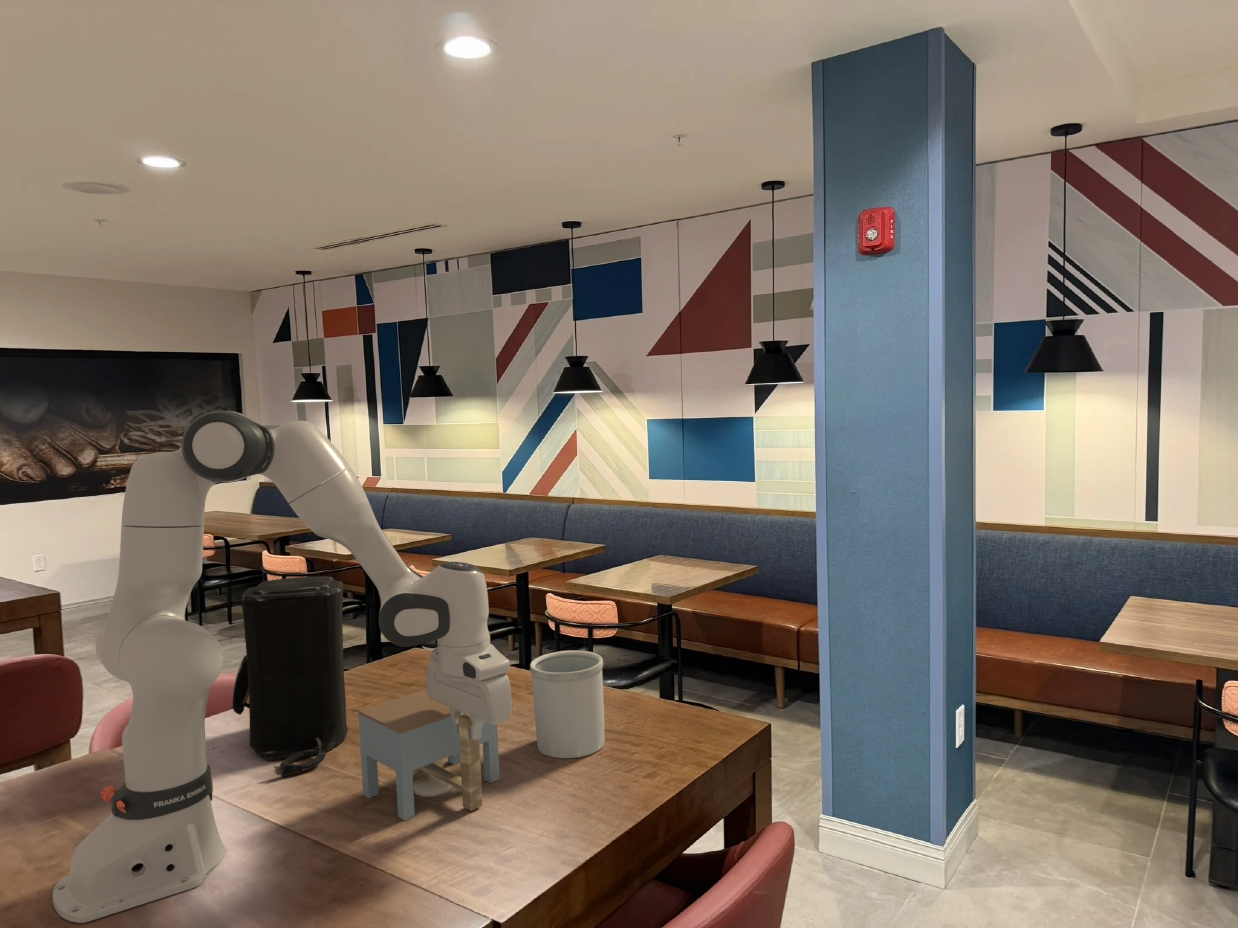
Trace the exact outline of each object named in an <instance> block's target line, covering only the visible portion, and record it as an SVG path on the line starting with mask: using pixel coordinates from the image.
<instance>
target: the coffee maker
mask: <svg viewBox="0 0 1238 928" xmlns="http://www.w3.org/2000/svg"><path fill="white" fill-rule="evenodd" d="M343 597H344V583H343V582H342V581H341V580H335V578H333V577H331V576H326V575H325V576H324V575H323V576H318V575H317V576H300V577H288V578H279V579H278V578H276V579H269V580H264V581H262V582H260V583H259V584H258V585H257V586H252V587H248V588H247V589H246V590H245V591H244V592H243V593H242V594H241V598H240V601H241V609H242V618H243V627H244V639H245V640H244V641H245V650H246V651H245V653H246V654H245V655H244V656H243V658H242V660H241V663H240V664H239V667H238V670H237V673H236V677H235V681H234V685H233V691H232V692H233V693H232V702H231V703H232V710H233V712H234V713H235V714H238V715H240V716H241V715H242V714H243V713H244V711H245V708H247V709H248V711H249V713H248V714H249V716H248V717H249V747H250V748H251V749H252V750H253V751H254V752H255V753H256V754H258V755H259V757H261V758H265V760H266V761H274V760H276V761H277V760H282V761H281V763H279V765H274V766H273V768H274V769H279V770H281V773H280V775H281V778H285V776H288V775H293V774H295V773H298V772H303V771H304V770H306V769H310V768H314V767H315V766H317V765H319V764H321V763H322V762H323V761H324V759H325V757H326V756H327V752H329V751H332V750H334V749H335V747H337V746H338V745H340V744H341V742H344V741H345V739H346V737H347V734H348V730H349V728H348V725H347V724H348V723H347V710H346V709H347V701H346V700H347V699H346V686H345V685H346V683H345V669H344V668H345V667H344V666H345V665H344V639H343V637H344V636H343V634H344V633H343V608H344V607H343V606H344V605H343V601H344V598H343ZM247 701H248V702H247ZM309 756H310V757H311V756H315V758H313V759H312V760H310V761H307V762H305V763H304V762H303V763H300V764H299V763H298V764H296V763H293V762H295V761H297V760H300V759H304V758H306V757H309Z"/></svg>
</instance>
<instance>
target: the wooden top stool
mask: <svg viewBox="0 0 1238 928" xmlns="http://www.w3.org/2000/svg"><path fill="white" fill-rule="evenodd" d="M464 714H465V713H464ZM358 723H359V724H358V725H359V729H358V730H359V744H360V760H361V761H360V762H361V777H362V781H361V782H362V796H364V797H366V798H367V799H371V798H374V797H375V796H378V795H380V792H379V791H380V790H379V789H380V788H379V770H378V763H380V764H382V765H383V766H385V767H388V768H389V769H391V770H393V771H395V781H396V782H395V783H396V784H395V785H396V802H397V803H396V805H397V817H398V818H399V819H401V820H403V821H407V820H409V819H411V818H414V817H415V816H416V815H415V797H414V794H415V793H414V791H413V773H412V771H413V770H415V769H418V768H420V767H423V766H426V765H428V764H431V763H433V762H436V761H438V760H441V759H443V760H444V759H446V758H447V763H449V764H451V765H457V764H458V763H461V762H460V743H459V733H457V732H455V723H454V721H453V718H452V716H451V714H450V707H448V706H445V705H443V704H440V703H438V702H435V701H433V700H431V699H429V697H428V695H427V691H426V689H423V690H421V691H417V692H413V693H412V694H408V695H405V696H402V697H399V698H395V699H392V700H389V701H385V702H382V703H378V704H377V705H376V704H375V705H373V706H369V707H366V708H363V709H359V710H358ZM481 730H482V736H481V738H480V739H479V746H480V745H482V756H483V778H484V779H483V780H484V781H486V782H488V783H490V784H492V783H495V782H496V781H499V780H501V779H500V757H499V739H498V738H499V737H498V736H499V735H498V724H494V725H492V724H489V723H487V722H484V724H483V726H482V728H481Z"/></svg>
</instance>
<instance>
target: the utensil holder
mask: <svg viewBox="0 0 1238 928" xmlns="http://www.w3.org/2000/svg"><path fill="white" fill-rule="evenodd" d="M603 667H604V659H603V657H602V656H601V655H600V654H597V653H595V652H592V651H588V650H587V651H586V650H560V651H555V652H550V653H546V654H543V655H540V656H537V657H536V658H534V659H533V660H532V661H531V662H530V664H529V671H530V673H531V680H532V681H531V682H532V695H533V697H532V698H533V710H534V721H535V735H536V745H537V749H538V751H539V752H540V753H541V755H545V756H546V757H550V758H556V759H576V758H582V757H587V756H590V755H592V754H595V753H596V752H598V751H600V749H602V748H603V746H604V744H605V705H604V703H605V702H604V682H603V681H604V677H603Z"/></svg>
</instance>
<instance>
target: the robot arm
mask: <svg viewBox="0 0 1238 928" xmlns="http://www.w3.org/2000/svg"><path fill="white" fill-rule="evenodd" d="M182 435H183V436H182V439H181V447H180V449H177V450H174V451H158V452H153V453H149V454H145V455H143V456H141V457H140V458H138V459H136V461H135V462H134V463H133V464H132V466H131V468H130V471H129V475H128V478H127V483H126V487H125V492H124V497H123V502H122V503H123V504H122V512H121V524H120V525H121V527H120V528H121V529H120V545H119V564H118V565H119V567H118V575H117V582H116V583H117V584H116V586H115V587H116V588H115V590H114V593H113V597H112V602H111V606H110V609H109V613H108V616H107V618H106V619H107V621H106V623H104V625H103V626H102V628H101V629H100V631H98V635H97V636H96V637H97V638H96V639H95V640H96V641H95V652H96V655H97V658H98V660H99V661H100V663H101V664H102V666H103V667H104V669H105V670H107V672H108V673H109V674H110V675H112V676H113V677H115V678H117V680H118V679H119V680H121V681H123V682H126V683H128V684H129V685H130V688H131V690H132V703H131V710H130V715H129V721H128V723H127V725H126V726H125V728H124V729H123V732H122V734H121V743H122V757H123V769H124V783H123V784H122V785H121V786H120V787H119V789H116V787H114V785H107V786H105V787H104V788H102V790H101V792H100V796H101V799H103V801H104V802H106V803H107V804H109V803H110V808H111V813H110V814H109V815H108V816H107V817H106V818H105V819H104V820H103V821H102V822H101V823H100V824H99V825H97V827H96V828H95V829H93V830H92V831H91V832H90V833H89V834H88V835H87V836H86V837H85V838H84V839H83V840H82V841H80V842H79V844H78V845H77V846H76V848H75V849H74V852H73V855H72V857H71V862H70V869H69V870H70V871H69V875H67V876H65V877H62V878H61V879H60V880H58V882H57V883H56V884H55V885H54V887H53V889H52V905H53V908H54V909H55V911H56V912H57V915H59V916H60V917H61V918H63V919H64V920H66V921H68V922H73V923H78V924H85V923H88V922H92V921H95V920H98V919H101V918H105V917H107V916H109V915H112V914H116V913H120V912H122V911H125V910H129V909H132V908H135V907H139V906H141V905H145V904H147V903H151V902H154V901H157V900H160V899H163V898H167V897H169V896H173V895H175V894H179V893H182V892H184V891H188V890H191V889H193V888H196V887H198V886H200V885H201V884H202V883H203V881H205V877H206V876H207V874H208V873H209V872H210V871H211V870H212V869H214V868H215V867H216V866H217V865H218V864H219V863H220V862H221V861H222V859H223V858H224V856H225V852H226V849H225V848H226V847H225V845H224V843H223V842H222V839H221V836H220V833H219V831H218V828H217V823H216V820H215V816H214V815H215V813H214V812H213V805H212V801H213V793H214V784H213V774H212V772H211V766H210V765H209V764H208V760H207V758H208V757H207V743H206V727H205V726H206V723H205V722H206V713H207V706H208V705H207V704H208V699H209V695H210V690H211V686H212V685H213V684H214V683H215V681H216V680H218V677H219V676H220V674H221V671H222V669H223V665H224V650H223V647H222V646H221V643H220V642H219V640H218V639H217V638H216V637H215V636H214V635H213V634H212V633H210V632H209V631H208V630H207V629H206V628H204V627H203V626H202V625H200V624H198V623H195V622H191V621H188V620H186V617H185V616H186V608H187V605H188V602H189V598H190V595H191V593H192V591H193V588H194V587H195V585H196V583H197V582H198V581H199V580H200V578H201V576H202V573H203V560H204V559H203V556H204V538H205V537H204V533H205V511H206V510H205V505H206V501H207V496H208V493H209V490H211V488H212V487H213V486H215V485H219V484H223V483H234V482H239V481H241V480H244V479H246V478H248V477H251V476H254V475H261V476H264V477H265V478H268V480H270V481H271V482H272V483H273V484H274V486H276V487H277V489H278V490H279V492H280V493H281V494H282V496H283V498H284V499H285V500H286V502H287V503H289V504H288V505H289V506H290V508H291V509H292V510H293V511H294V513H295V514H296V515H297V517H298V518H299V519H300V520H301V521H302V523H304V525H306V526H307V527H308V528H309V529H310V530H311V531H312V532H313V533H314V534H315V535H316V536H318V537H320V538H324V539H327V540H330V541H333V542H335V543H338V544H339V545H341V546H343V547H344V548H346V549H347V551H349V552H350V553H351V554H352V555H353V557H354V559H355V560H356V561H357V562H358V564H359V565H360V566H361V568H362V569H363V570H364V572H365V573H366V575H367V576H368V578H369V579H370V580H371V581H372V583H373V584H374V586H375V588H377V591H378V595H379V599H380V600H379V601H380V609H379V615H378V627H379V630H380V633H381V634H382V635H383V637H384V638H385V639H386V640H387V641H388V642H390V643H392V644H393V645H395V646H399V647H403V648H404V647H405V648H409V647H415V646H419V645H423V644H426V643H430V642H433V641H436V642H437V647H434V648H433V649H432V651H431V653H430V654H429V661H428V663H427V667H426V668H427V669H426V686H425V687H426V689H425V690H426V691H427V695H428V697H429V699H431V700H433V701H435V702H438V703H440V704H443V705H445V706H448V707H450V714H451V716H452V718H453V721H454V723H455V732H457V733H459V724H458V716H460V715H463V714H464V713H465V714H467V715H470V718H471V721H473V723H472V726H471V728H469V729H468V737H469V738H471V739H473V740H477V739H480V738H481V736H482V730H481V728H482V726H483V724H484V722H487V723H489V724H492V725H494V724H497V725H498V724H500V723H502V722H505V721H507V720H508V719H509V718H510V716H511V714H512V691H511V682H510V678H509V676H508V674H507V673H508V672H510V670H511V664H510V663H511V662H510V660H509V659H508V658H507V657H505V655H504V654H502V653H501V652H500V651H499V650H498V649H497V648H496V647H495V646H494V645H493V644H492V643H491V635H490V631H489V628H488V619H489V615H490V611H489V610H490V609H489V608H490V607H489V595H488V587H487V581H486V578H485V577H486V576H485V575H484V572H483V571H482V570H481V569H480V568H479V567H477V566H476V565H474V564H472V563H468V562H462V561H445V562H442V563H440V564H439V565H438V566H437V567H436V568H435V569H433V570H432V571H430V572H429V573H427V574H426V575H422V574H421V573H419V572H417V571H415V570H413V569H412V568H411V567H410V566H408V565H407V563H406V562H405V561H404V559H403V558H402V557H401V556H400V554H399V552H398V551H397V549H396V548H395V547H394V545H393V544H392V542H391V541H390V540H389V538H388V537H387V535H386V534H385V533H384V532H383V530H382V528H381V527H380V525H379V523H378V520H377V519H376V516H375V513H374V511H373V508H372V505H371V503H370V501H369V498H368V497H367V494H366V492H365V490H364V488H363V486H362V484H361V482H360V480H359V478H358V477H357V474H356V473H355V472H354V470H353V469H352V468H351V466H350V465H349V463H348V462H347V460H346V459H345V457H344V456H343V455H342V454H341V453H340V451H339V450H338V448H336V446H335V445H334V444H333V442H332V441H331V440H330V439H329V438H328V437H327V436H326V435H325V434H324V433H323V431H321V430H320V429H319V428H318V427H317V426H316V425H314V424H313V423H312V422H310V421H306V420H293V421H292V420H291V421H288V422H285V423H283V424H281V425H279V426H277V427H274V428H271V429H269V428H268V427H266V426H263V425H261V424H259V423H258V422H256V421H254V419H251V417H249V416H247V415H246V414H243V413H241V412H237V411H233V410H220V409H219V410H211V411H207V412H205V413H203V414H201V415H198V416H196V418H195V419H193V420H192V421H191V422H190V423H189V424H188V426H187V427H186V429H185V430H184V432H183V434H182Z"/></svg>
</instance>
